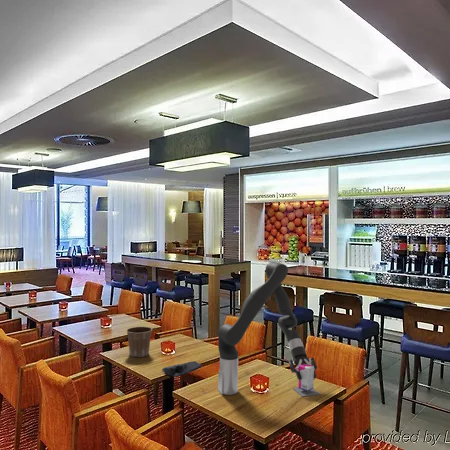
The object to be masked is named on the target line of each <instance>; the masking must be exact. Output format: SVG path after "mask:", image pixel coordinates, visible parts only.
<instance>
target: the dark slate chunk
mask: <svg viewBox="0 0 450 450" xmlns="http://www.w3.org/2000/svg"><path fill="white" fill-rule="evenodd" d="M201 367H202V364H201V363H199V362H197V361H195V360H193V361H188V362H184V363H178V364H174V365H170V366H165V367H163V368H162V369H161V372H162V373H164V374H165V375H166V376H167V375H168V376H171V377H174V378H178V377H180V376H184V375H188V374H189V373H191V372H194V371H196V370H198V369H199V368H201Z"/></svg>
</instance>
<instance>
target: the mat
mask: <svg viewBox="0 0 450 450" xmlns="http://www.w3.org/2000/svg"><path fill="white" fill-rule="evenodd" d="M292 390H293V391H294V392H295V393H297V394H298V395H300V396H301V397H303V398H305V397H311V396H313V397H314V396H319V395H320V396H321V393H320V392H318V391H317V390H316V389H314V388H313V389H311V390H310V391H305V390H302V389H299V388H298V387H293V388H292Z"/></svg>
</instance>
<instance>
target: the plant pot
mask: <svg viewBox="0 0 450 450" xmlns="http://www.w3.org/2000/svg"><path fill="white" fill-rule="evenodd" d="M125 331H126V333H127V339H128V340H127V341H128V350H129V351H128V352H129V356H130V357H131V358H136V357H137V358H145V357H147V356H149V354H150V347H151V346H150V344H151V336H152V331H153V328H152V327H149V326H133V327H130V328H126V330H125Z"/></svg>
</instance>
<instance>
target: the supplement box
mask: <svg viewBox="0 0 450 450" xmlns="http://www.w3.org/2000/svg"><path fill="white" fill-rule="evenodd" d="M299 372H300V374H301V377H302V379H301V380H299V379H298V386H297V388H299V389H302V390H305V391H310V390H311V389H314V385H315V383H314V382H315V381H314V380H315V379H314V366H312V365H308V364H302V365H300V366H299Z"/></svg>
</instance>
